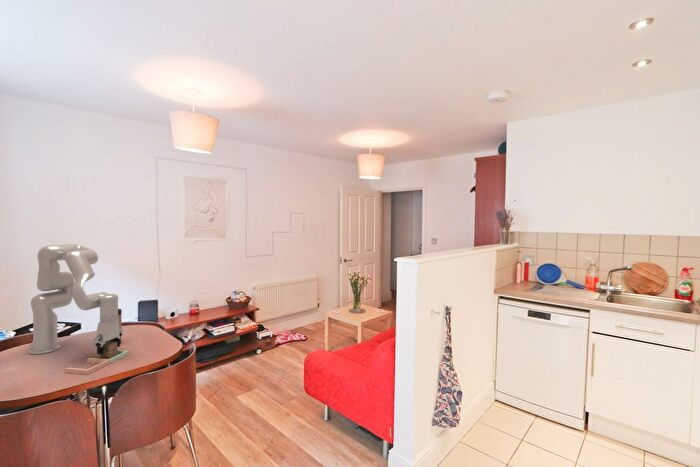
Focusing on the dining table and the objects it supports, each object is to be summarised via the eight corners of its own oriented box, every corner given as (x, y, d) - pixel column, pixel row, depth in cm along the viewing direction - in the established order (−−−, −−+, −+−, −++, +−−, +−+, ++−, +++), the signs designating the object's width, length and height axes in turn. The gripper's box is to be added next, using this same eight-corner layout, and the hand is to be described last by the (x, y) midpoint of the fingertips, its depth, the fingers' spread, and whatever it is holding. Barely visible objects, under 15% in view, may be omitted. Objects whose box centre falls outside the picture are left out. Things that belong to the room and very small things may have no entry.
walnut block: (100, 360, 163) (100, 344, 162) (108, 356, 167) (108, 341, 167) (108, 360, 162) (108, 345, 162) (117, 356, 167) (117, 342, 167)
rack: (64, 372, 148) (64, 368, 148) (108, 352, 171) (108, 349, 171) (87, 374, 147) (87, 370, 147) (128, 354, 170) (128, 350, 170)
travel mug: (112, 347, 179) (112, 312, 179) (101, 345, 181) (101, 311, 180) (124, 342, 187) (125, 309, 186) (114, 341, 188) (114, 308, 188)
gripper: (116, 313, 173) (116, 343, 174) (86, 322, 156) (86, 356, 156) (128, 313, 172) (128, 344, 173) (100, 323, 155) (100, 357, 155)
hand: (108, 350), depth 165 cm, fingers open, 9 cm apart
